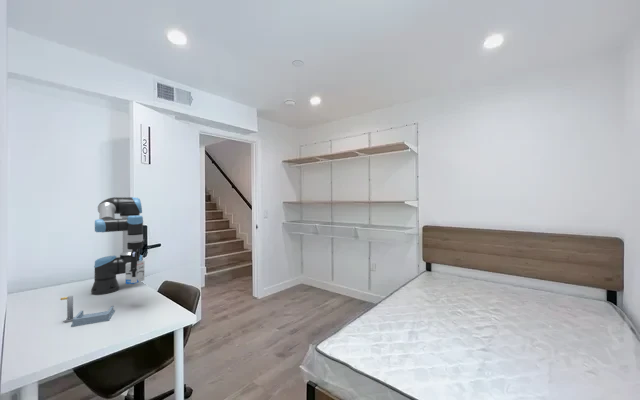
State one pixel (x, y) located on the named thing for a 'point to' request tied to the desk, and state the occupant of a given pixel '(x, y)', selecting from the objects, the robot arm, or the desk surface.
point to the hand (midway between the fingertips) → (135, 280)
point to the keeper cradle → (86, 318)
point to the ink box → (139, 272)
